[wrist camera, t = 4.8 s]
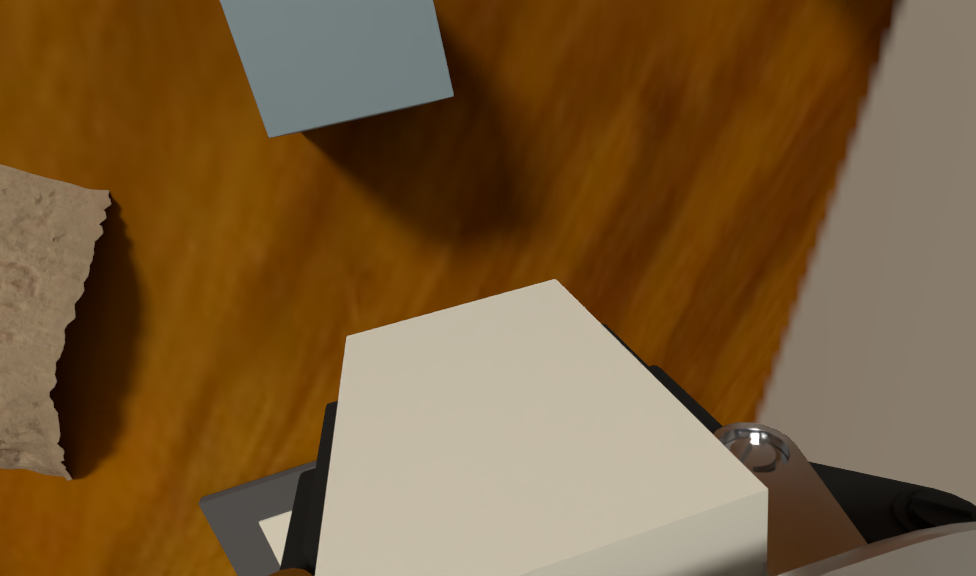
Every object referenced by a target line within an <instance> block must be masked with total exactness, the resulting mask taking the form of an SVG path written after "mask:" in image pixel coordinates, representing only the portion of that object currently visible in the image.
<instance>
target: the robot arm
mask: <svg viewBox="0 0 976 576" xmlns="http://www.w3.org/2000/svg"><path fill="white" fill-rule="evenodd" d="M602 325H603V326H604V327H605V328H606V329H607V330H608V331H609V332H610V333H611V334H612V335H613V336H614V337H615V338H616V339H617V340H618V341H619V342H620V343H621V344H622V345H623V346H624V347H625V348H626V349H627V350H628V351H629V352H630V353H631V354H632V355H633V356H634V357H635V358H636V359H637V360H638V361H639V362H640V363H641V364H642V365H643V366H644V367H645V368H646V369H647V370H648V371H649V372H650V373H651V374H652V375H653V376H654V377H655V378H656V379H657V380H658V381H659V382H660V383H661V384H662V385H663V386H664V387H665V388H666V389H667V390H668V391H669V392H670V393H671V394H672V395H673V396H674V397H675V398H676V399H678V400H679V401H680V402H681V403H682V404H683V405H684V406H685V407H686V408H687V409H688V410H689V411H690V412H691V413H692V414H693V415H694V416H695V417H696V418H697V419H698V420H699V421H700V422H701V423H702V424H703V425H704V426H705V427H706V428H707V429H708V430H709V431H710V432H711V433H712V434H713V435H714V436H715V437H716V438H717V439H718V440H719V441H720V442H721V443H722V444H723V445H724V446H725V447H726V448H727V449H728V450H729V451H730V452H731V453H732V454H733V455H734V456H735V457H736V458H737V459H738V460H739V461H740V462H741V463H742V464H743V465H744V466H745V467H746V468H747V469H748V470H749V471H750V472H751V473H752V474H753V475H754V476H755V477H756V478H757V479H758V480H760V481H761V482H762V483H763V484H764V485H765V486H766V487H767V488H768V524H767V561H766V562H763V576H976V506H975V505H973V504H972V503H970V502H969V501H966V500H964V499H962V498H960V497H958V496H956V495H953V494H950V493H947V492H944V491H940V490H937V489H934V488H929V487H925V486H920V485H915V484H910V483H906V482H901V481H897V480H892V479H887V478H882V477H878V476H873V475H868V474H864V473H859V472H855V471H850V470H845V469H841V468H835V467H831V466H826V465H822V464H817V463H812V462H808V461H807V459H806V458H805V456H804V455H803V454H802V452H801V451H800V449H799V448H798V447H797V445H796V444H795V443H794V442H793V441H792V440H791V439H790V438H789V437H788V436H787V435H785V434H783V433H781V432H780V431H778V430H776V429H774V428H771V427H768V426H765V425H761V424H755V423H734V424H729V425H725V426H722V425H721V424H720V423H719V422H717V421H716V420H715V419H714V418H713V417H712V416H711V415H710V414H709V413H708V412H707V411H706V410H705V409H704V408H703V407H701V406H700V405H699V404H698V403H697V402H696V401H695V400H694V399H693V398H692V397H691V396H690V395H689V394H688V393H686V392H685V391H684V390H683V389H682V388H681V387H680V386H679V385H678V384H677V383H676V382H675V381H674V380H673V379H672V378H670V377H669V376H668V375H667V374H666V373H665V372H664V371H663V370H662V369H661V368H659V367H658V366H655V365H652V366H648V365H647V364H646V363H645V362H644V361H643V360H641V359H640V358H639V357H638V356H637V355H636V354H635V353H634V352H633V351H632V350H631V349H630V348H629V347H628V346H627V345H626V344H625V343H624V342H623V341H622V340H621V339H620V338H619V337H618V336H617V335H616V334H615V333H614V332H613V331H612V330H611V329H610V328H609V327H607V326H606V325H605V324H602ZM337 405H338V401H335V402H332V403H329V404H327V405H326V410H325V416H324V422H323V428H322V434H321V439H320V445H319V451H318V457H317V463H316V468H314V469H310V470H307V471H304V472H302V473H301V474H300V477H299V480H298V485H297V490H296V494H295V499H294V504H293V509H292V513H291V518H290V523H289V528H288V532H287V537H286V542H285V547H284V551H283V556H282V561H281V566H280V570H279V571H278V572H275V573H273V574H270V575H268V576H315V571H316V563H317V556H318V548H319V541H320V533H321V526H322V518H323V511H324V503H325V496H326V488H327V481H328V473H329V466H330V458H331V450H332V443H333V435H334V428H335V420H336V413H337Z"/></svg>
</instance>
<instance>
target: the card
mask: <svg viewBox="0 0 976 576" xmlns="http://www.w3.org/2000/svg"><path fill="white" fill-rule="evenodd" d="M316 463H317V461H314V462H310V463H307V464H304V465H301V466H298V467H295V468H292V469H289V470H286V471H283V472H279V473H276V474H273V475H270V476H267V477H264V478H261V479H258V480H255V481H252V482H248V483H245V484H242V485H239V486H236V487H233V488H230V489H227V490H224V491H221V492H217V493H214V494H211V495H208V496H205V497H202V498H201V499H200V502H199V506H200V507H201V509H202V511H203V513H204V515H205V516H206V518H207V520H208V522H209V524H210V526H211V527H212V529H213V531H214V533H215V535H216V537H217V538H218V540H219V542H220V544H221V546H222V547H223V549H224V551H225V553H226V555H227V557H228V558H229V560H230V562H231V564H232V566H233V568H234V569H235V571H236V573H237V575H238V576H268V575H270V574H273V573H275V572H278V571H279V570H280V566H281V561H282V556H283V551H284V547H285V542H286V537H287V532H288V528H289V523H290V518H291V513H292V509H293V504H294V499H295V494H296V490H297V485H298V480H299V477H300V474H301V473H302V472H304V471H307V470H310V469H314V468H316Z"/></svg>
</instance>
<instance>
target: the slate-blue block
mask: <svg viewBox="0 0 976 576" xmlns="http://www.w3.org/2000/svg"><path fill="white" fill-rule="evenodd" d="M220 2H221V5H222V7H223V10H224V13H225V16H226V19H227V22H228V24H229V27H230V30H231V33H232V36H233V38H234V41H235V44H236V47H237V50H238V52H239V55H240V58H241V61H242V64H243V66H244V69H245V72H246V75H247V78H248V80H249V83H250V86H251V89H252V92H253V94H254V97H255V100H256V103H257V106H258V108H259V111H260V114H261V117H262V120H263V122H264V125H265V128H266V131H267V134H268V136H269V138H270V137H276V136H282V135H288V134H294V133H299V132H304V131H309V130H313V129H317V128H322V127H326V126H331V125H335V124H340V123H344V122H348V121H353V120H357V119H362V118H366V117H371V116H375V115H380V114H384V113H388V112H393V111H397V110H402V109H406V108H411V107H415V106H420V105H424V104H428V103H431V102H435V101H438V100H442V99H446V98H449V97H453V96H454V94H453V90H452V85H451V80H450V76H449V71H448V67H447V62H446V58H445V53H444V49H443V44H442V39H441V35H440V30H439V26H438V21H437V17H436V12H435V8H434V3H433V0H220Z"/></svg>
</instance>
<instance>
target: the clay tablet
mask: <svg viewBox="0 0 976 576" xmlns="http://www.w3.org/2000/svg"><path fill="white" fill-rule="evenodd" d="M108 194H109V191H108V190H92V189H86V188H82V187H80V186H77V185H74V184H70V183H66V182H62V181H58V180H53V179H49V178H45V177H42V176H38V175H34V174H30V173H27V172H24V171H21V170H17V169H14V168H11V167H7V166H3V165H0V468H3V469H19V468H22V469H29V470H32V471H35V472H39V473H42V474H45V475H55V476H64V477H65V478H66V479H67V480H72V478H71V477H70V475H69V473H68V472H67V471H66V470H65V469H66V467H65V466H64V465H63V464H62V463H61V461H64V458H63V455H64V450H63V448H61V447H60V446H59V445H58V444H57V443H58V442H59V438H60V429H59V420H58V413H57V411H56V410H55V409H54V402H53V401H52V400H51V398H50V397H49V396H50V393H49V392H50V391H51V390H52V389H53V388H54V387H55V384H56V382H57V380H56V377H55V371H56V361H57V360H58V359H59V358H60V357H61V353H62V351H63V346H64V344H65V332H64V330H65V328H66V326H67V325H68V324H69V323H70V322H71V321H72V320H74V319H75V305H74V304H75V303H76V302H77V300H78V299H79V298H80V297H81V295H82V294H83V292H84V284H83V283H84V282H85V280H86V279H87V277H88V275H89V270H90V263H91V262H92V261H93V255H94V245H95V242H94V241H96V240H97V239H98V238H99V237H100V236H101V235H102V234H103V229H102V226H100V225H99V224H100V223H101V222H102V221H104V220H105V219H106V212H105V211H104V209H106V208H107V207H108V206H110V205H111V200H110V198H109V197H108Z"/></svg>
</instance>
